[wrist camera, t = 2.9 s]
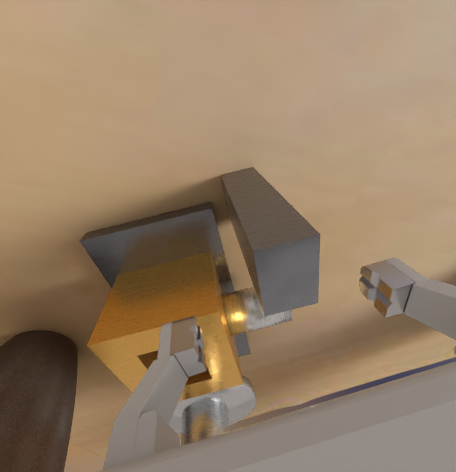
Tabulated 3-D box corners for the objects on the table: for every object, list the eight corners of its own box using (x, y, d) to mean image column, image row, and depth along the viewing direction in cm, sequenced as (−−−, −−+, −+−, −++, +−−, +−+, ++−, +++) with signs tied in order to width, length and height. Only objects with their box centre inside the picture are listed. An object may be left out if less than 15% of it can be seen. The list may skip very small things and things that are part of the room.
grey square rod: (253, 167, 20) (320, 234, 9) (259, 211, 22) (317, 303, 12) (220, 175, 20) (253, 251, 9) (230, 218, 22) (264, 316, 12)
